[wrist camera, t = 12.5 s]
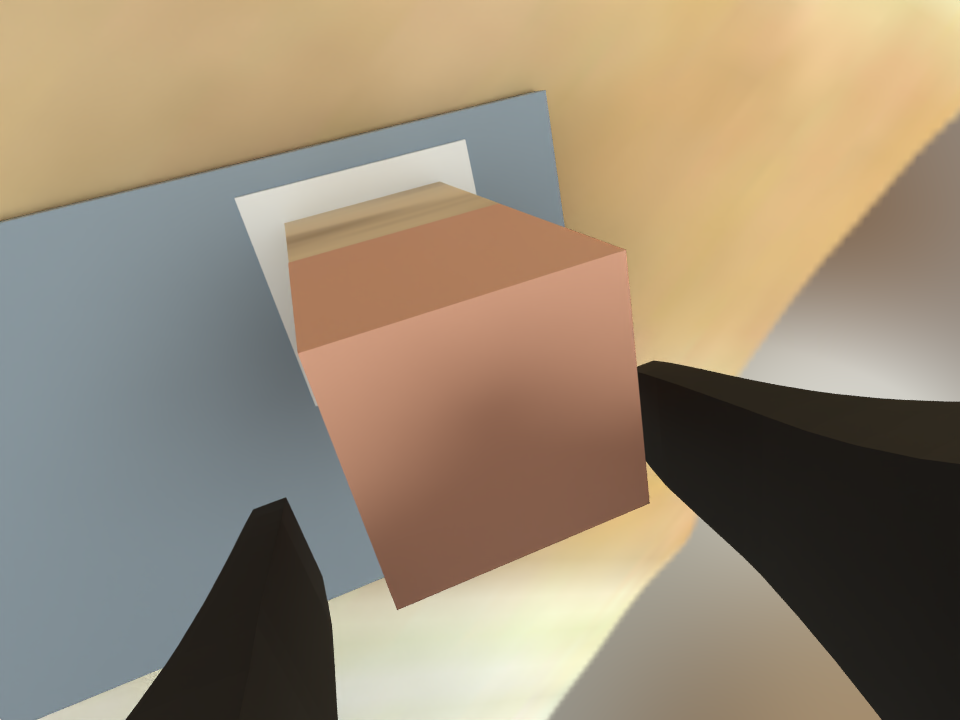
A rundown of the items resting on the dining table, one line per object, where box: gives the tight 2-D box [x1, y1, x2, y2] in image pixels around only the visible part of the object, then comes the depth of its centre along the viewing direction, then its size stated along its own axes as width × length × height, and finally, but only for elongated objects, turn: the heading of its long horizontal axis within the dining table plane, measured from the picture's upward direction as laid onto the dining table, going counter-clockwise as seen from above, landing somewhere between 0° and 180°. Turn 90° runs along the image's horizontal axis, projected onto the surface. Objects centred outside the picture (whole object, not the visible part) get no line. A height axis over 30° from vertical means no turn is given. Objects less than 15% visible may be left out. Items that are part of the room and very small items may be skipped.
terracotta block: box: [288, 203, 650, 610], centre depth 10 cm, size 4×4×5 cm
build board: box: [0, 90, 565, 720], centre depth 18 cm, size 15×22×1 cm
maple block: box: [284, 181, 498, 262], centre depth 15 cm, size 4×4×5 cm
